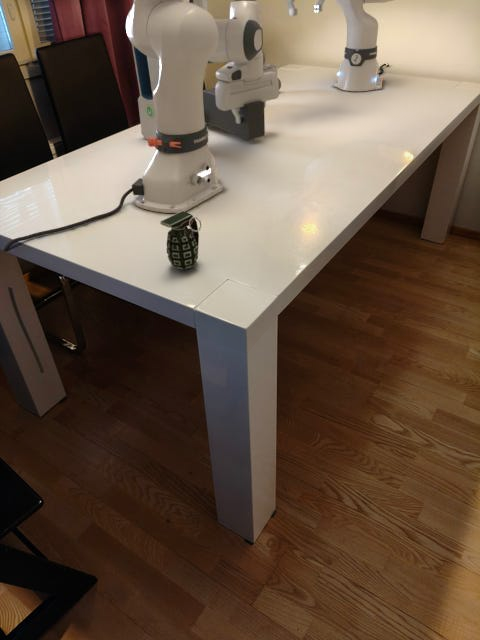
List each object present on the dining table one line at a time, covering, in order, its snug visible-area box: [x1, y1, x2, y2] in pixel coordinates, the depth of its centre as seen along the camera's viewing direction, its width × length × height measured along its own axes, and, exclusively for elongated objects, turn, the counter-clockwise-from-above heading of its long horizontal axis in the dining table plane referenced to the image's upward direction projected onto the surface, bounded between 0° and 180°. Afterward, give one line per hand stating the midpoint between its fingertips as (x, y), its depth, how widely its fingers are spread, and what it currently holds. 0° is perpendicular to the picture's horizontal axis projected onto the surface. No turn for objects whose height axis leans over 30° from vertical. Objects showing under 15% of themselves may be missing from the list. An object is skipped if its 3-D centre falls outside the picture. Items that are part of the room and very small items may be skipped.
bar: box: [203, 87, 266, 141], centre depth 149 cm, size 26×6×10 cm, turn 35°
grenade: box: [159, 211, 202, 271], centre depth 88 cm, size 7×6×10 cm
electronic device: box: [131, 43, 160, 140], centre depth 143 cm, size 12×8×30 cm, turn 47°
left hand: (249, 120), depth 143 cm, fingers closed on bar, 6 cm apart
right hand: (306, 14), depth 142 cm, fingers open, 8 cm apart
